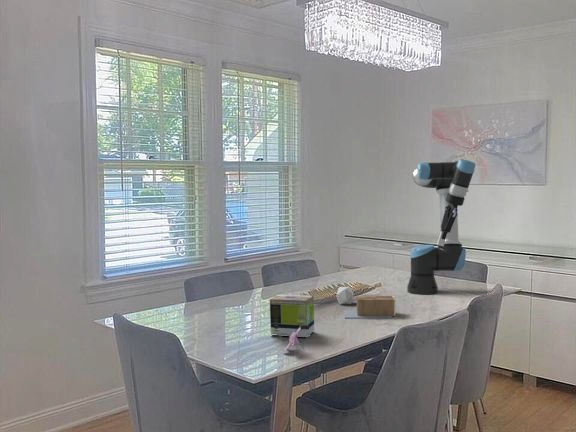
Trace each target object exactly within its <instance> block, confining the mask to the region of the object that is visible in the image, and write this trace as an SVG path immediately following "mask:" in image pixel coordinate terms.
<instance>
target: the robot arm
mask: <svg viewBox="0 0 576 432" xmlns="http://www.w3.org/2000/svg"><path fill="white" fill-rule="evenodd" d="M475 169H476V163H475V162H473V161H471V160H468V159H465V158H464V159H463V158H459V159H458V160H456V161H455V160H454V161H447V162H444V161H443V162H428V161H427V162H420V163H418V164H417V167H416V169H414V171H413V173H412V179H413V182H414V183H415V184H416V185H418V186H420V187H423V188H426V189H435V191H436V194H438V195H439V197H438V198H439V217H440V218H439V220H440V221H439V222H440V233H439V237H438V239H437V243H436V245H437V247H435V245H434V244H421V245H417V246H416V245H415V246H414V247H412V248H411V250H410V255H409V257H410V278H409V280H408V284H407V288H406V289H407V292H408V293H410V294H414V295H433V294H437V293H438V292H439V287H438V285H437V284H438V283H437V281H436V280H437V279H436V278H435V272H456V271H457V272H459V271H462V270H463V269H464V267H465V262H466V255H467V254H466V252H467V251H466V247H463V243H461V242H460V241H459V224H458V223H459V220H458V219H459V218H458V207H459V206H460V207H462V206H463V205H464V202H465V199H466V198H465V197H466V196H467V193H468V192H469V187H470V184H471V181H472V177H473V174H474V173H475Z"/></svg>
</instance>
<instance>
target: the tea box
mask: <svg viewBox="0 0 576 432" xmlns="http://www.w3.org/2000/svg"><path fill="white" fill-rule="evenodd" d="M314 304H315V303H314V295H307V294H305V295H304V294H283V293H282V294H280V293H279V294H276V295H275V296H273V297H271V298H269V315H270V317H269V319H270V320H269V321H270V323H269V324H270V335H271V334H277V335H287V336H291V335H292V333H293V332H295V333H296V332H297V330H298V329H299V327H300V326H301V327H300V328H301V329H300V330H299V331H298V337H308V336H309V335H310V334H311V333H312V332H313V331H314V332H315V308H314V306H315V305H314ZM310 336H311V335H310ZM310 336H309V337H310ZM309 337H308V338H309Z"/></svg>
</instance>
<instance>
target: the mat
mask: <svg viewBox="0 0 576 432" xmlns="http://www.w3.org/2000/svg"><path fill="white" fill-rule="evenodd" d="M343 314H344V319H393V316H358V315H357V309H356V310H343Z"/></svg>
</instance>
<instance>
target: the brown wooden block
mask: <svg viewBox="0 0 576 432" xmlns="http://www.w3.org/2000/svg"><path fill="white" fill-rule="evenodd" d="M356 310H357V315H358V316H392V317H393V316H394V317H395V316H396V298H395V296H394V295H357V296H356Z"/></svg>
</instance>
